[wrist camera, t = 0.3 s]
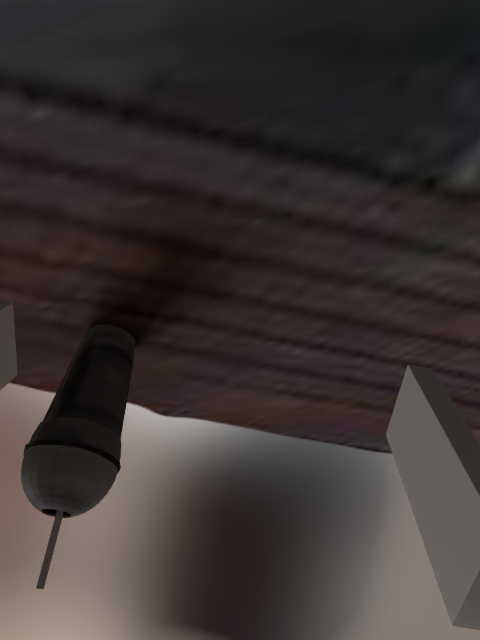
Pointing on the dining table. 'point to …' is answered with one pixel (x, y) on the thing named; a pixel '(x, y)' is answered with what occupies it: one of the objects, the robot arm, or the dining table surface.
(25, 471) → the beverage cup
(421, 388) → the robot arm
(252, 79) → the dining table surface
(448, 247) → the dining table surface
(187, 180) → the dining table surface
